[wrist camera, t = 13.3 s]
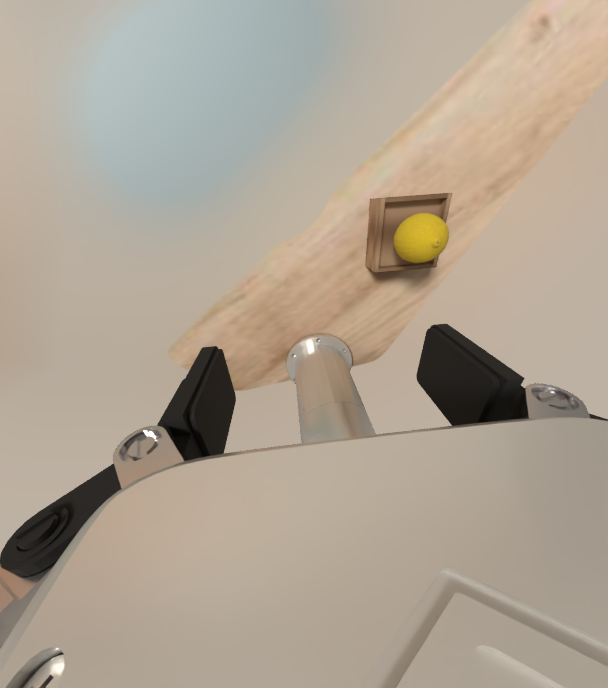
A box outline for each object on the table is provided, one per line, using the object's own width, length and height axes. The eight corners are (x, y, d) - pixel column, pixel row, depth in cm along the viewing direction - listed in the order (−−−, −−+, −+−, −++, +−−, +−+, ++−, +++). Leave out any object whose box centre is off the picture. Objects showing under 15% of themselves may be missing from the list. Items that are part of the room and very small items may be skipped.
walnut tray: (421, 261, 37) (436, 267, 34) (365, 265, 37) (374, 272, 33) (433, 194, 33) (452, 192, 29) (370, 198, 32) (381, 198, 29)
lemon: (431, 233, 32) (472, 239, 26) (400, 264, 34) (430, 278, 27) (408, 202, 30) (446, 200, 23) (376, 237, 32) (402, 246, 25)
